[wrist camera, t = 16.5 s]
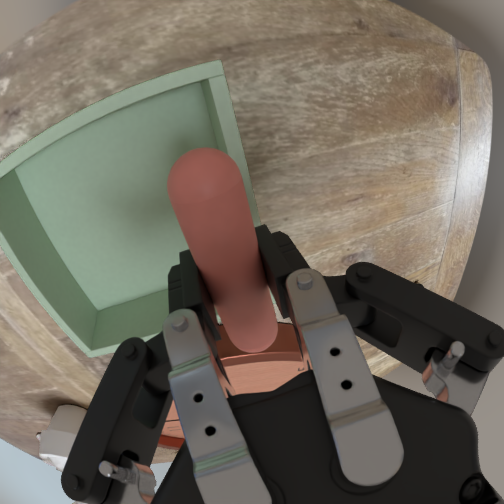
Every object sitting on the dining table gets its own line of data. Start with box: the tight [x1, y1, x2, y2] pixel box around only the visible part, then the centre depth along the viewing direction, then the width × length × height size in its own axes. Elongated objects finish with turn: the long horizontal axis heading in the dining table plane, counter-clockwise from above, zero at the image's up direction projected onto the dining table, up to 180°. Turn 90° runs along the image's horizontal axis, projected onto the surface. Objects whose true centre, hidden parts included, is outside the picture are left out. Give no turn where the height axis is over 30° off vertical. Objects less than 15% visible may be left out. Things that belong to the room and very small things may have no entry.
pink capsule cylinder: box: [167, 147, 278, 353], centre depth 12 cm, size 11×3×3 cm, turn 12°
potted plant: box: [39, 405, 87, 504], centre depth 21 cm, size 13×12×25 cm
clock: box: [157, 323, 305, 450], centre depth 34 cm, size 31×4×31 cm
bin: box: [0, 60, 276, 358], centre depth 16 cm, size 16×16×5 cm
